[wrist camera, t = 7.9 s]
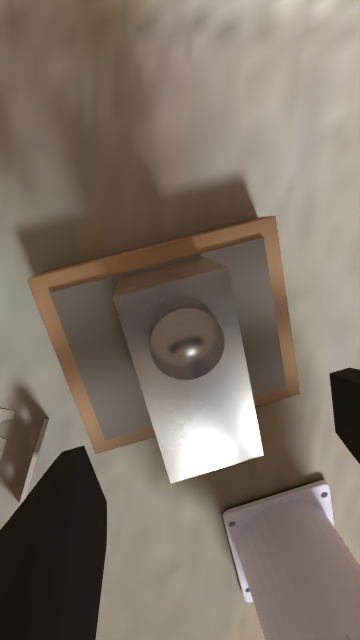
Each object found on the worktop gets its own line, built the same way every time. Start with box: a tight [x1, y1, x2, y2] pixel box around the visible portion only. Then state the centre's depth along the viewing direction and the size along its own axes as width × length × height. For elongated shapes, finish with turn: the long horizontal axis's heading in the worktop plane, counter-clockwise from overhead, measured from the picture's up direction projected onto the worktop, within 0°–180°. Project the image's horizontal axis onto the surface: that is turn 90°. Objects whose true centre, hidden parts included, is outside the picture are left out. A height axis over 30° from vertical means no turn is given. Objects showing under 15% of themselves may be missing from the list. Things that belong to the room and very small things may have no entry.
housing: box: [113, 256, 264, 483], centre depth 14 cm, size 8×4×5 cm, turn 13°
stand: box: [27, 216, 300, 454], centre depth 17 cm, size 10×12×2 cm
